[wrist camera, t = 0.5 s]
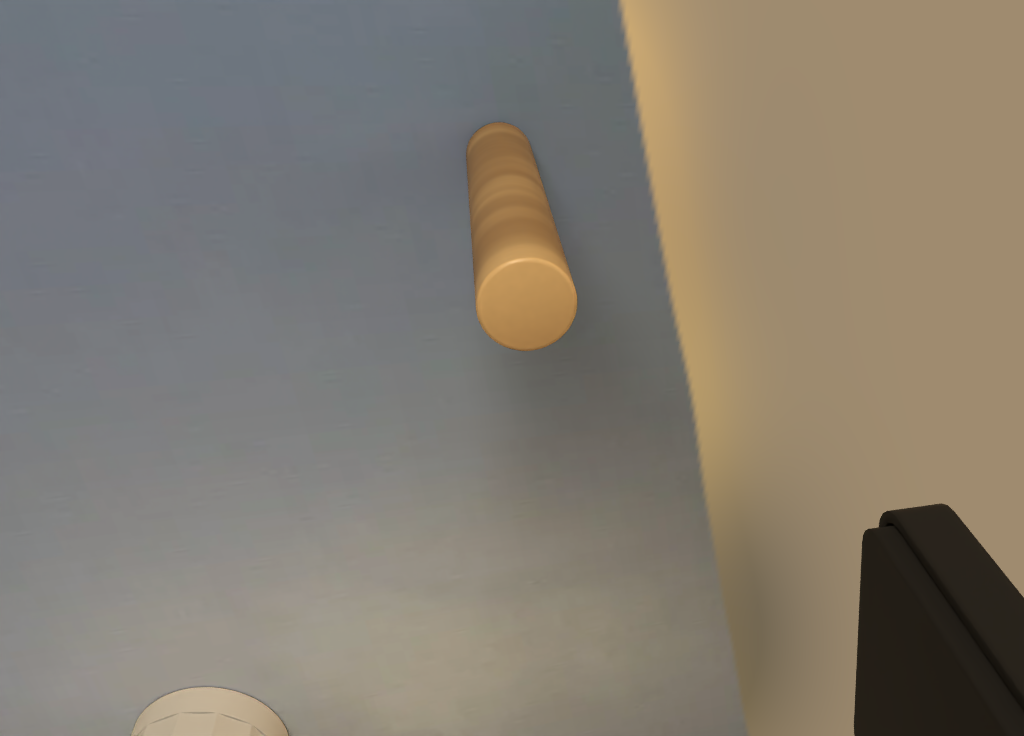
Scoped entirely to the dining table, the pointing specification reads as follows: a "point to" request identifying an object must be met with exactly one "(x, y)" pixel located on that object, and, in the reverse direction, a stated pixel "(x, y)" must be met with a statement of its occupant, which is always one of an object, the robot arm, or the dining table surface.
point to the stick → (515, 244)
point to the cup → (208, 715)
